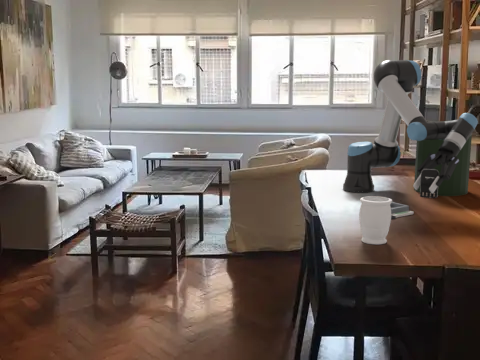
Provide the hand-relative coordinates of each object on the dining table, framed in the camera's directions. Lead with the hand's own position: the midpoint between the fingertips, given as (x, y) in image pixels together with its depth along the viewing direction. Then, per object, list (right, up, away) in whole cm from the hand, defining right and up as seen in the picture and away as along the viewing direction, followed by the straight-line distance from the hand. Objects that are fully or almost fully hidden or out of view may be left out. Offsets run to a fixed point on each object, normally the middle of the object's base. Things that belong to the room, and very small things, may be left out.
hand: (422, 189), depth 232 cm
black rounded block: (+3, -4, +3) cm, 5 cm away
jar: (-26, -18, -31) cm, 44 cm away
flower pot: (+26, -2, +56) cm, 62 cm away
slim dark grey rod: (-16, -11, +7) cm, 20 cm away
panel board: (-10, -10, +11) cm, 18 cm away
